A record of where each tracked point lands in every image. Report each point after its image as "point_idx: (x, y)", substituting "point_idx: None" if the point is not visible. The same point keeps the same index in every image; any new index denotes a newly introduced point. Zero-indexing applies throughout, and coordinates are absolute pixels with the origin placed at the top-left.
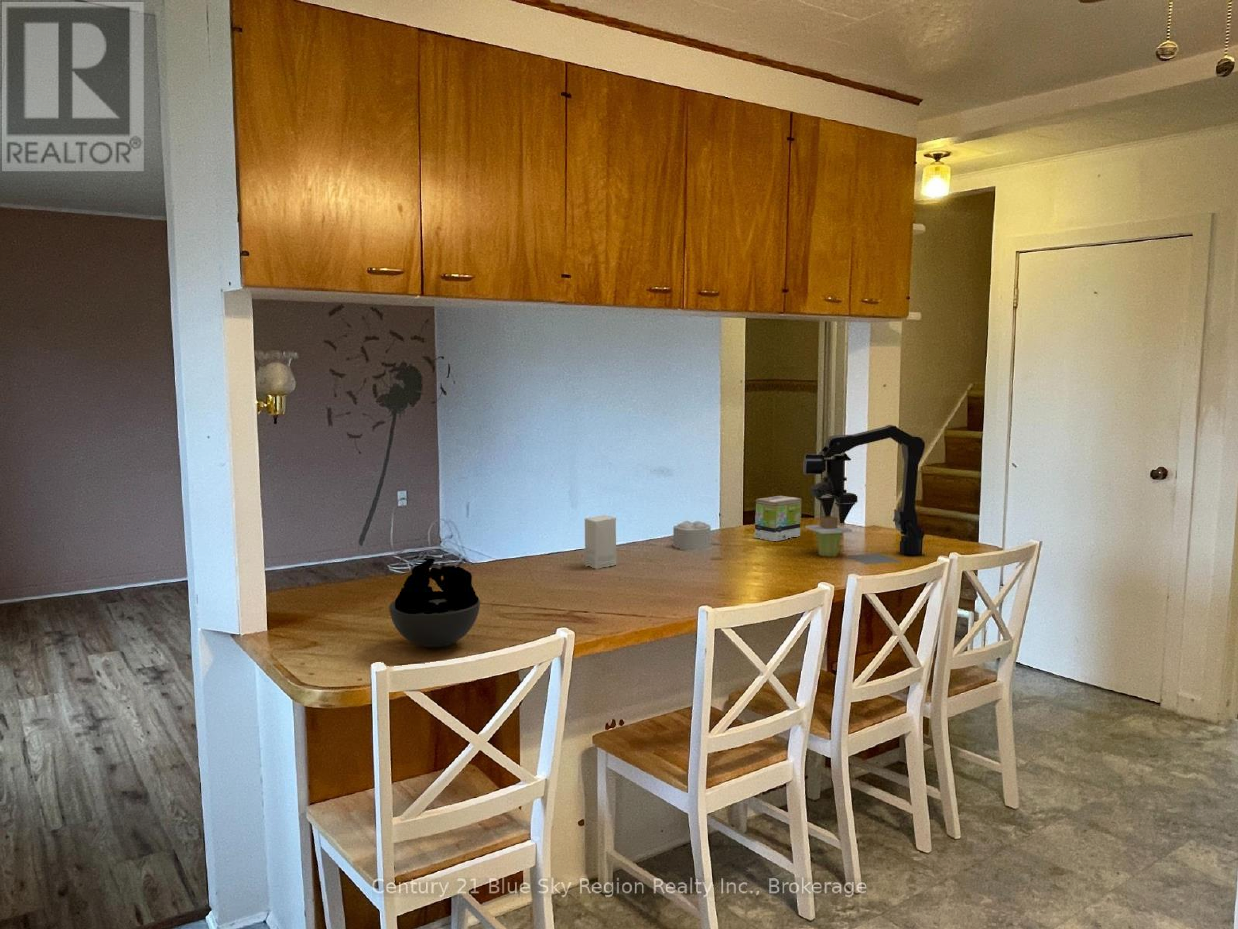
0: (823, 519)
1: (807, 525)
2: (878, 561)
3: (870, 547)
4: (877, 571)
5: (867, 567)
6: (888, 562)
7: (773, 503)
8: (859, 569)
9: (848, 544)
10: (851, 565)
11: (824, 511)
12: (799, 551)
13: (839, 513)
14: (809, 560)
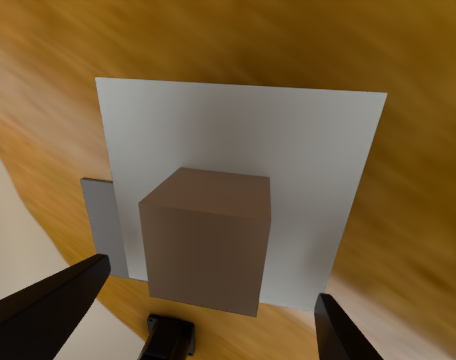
0: (208, 202)
1: (380, 113)
2: (108, 229)
3: (289, 327)
4: (15, 160)
5: (61, 166)
6: (95, 242)
7: None
8: (37, 128)
9: (360, 313)
10: (88, 138)
11: (366, 358)
12: (369, 89)
13: (6, 312)
14: (189, 27)
